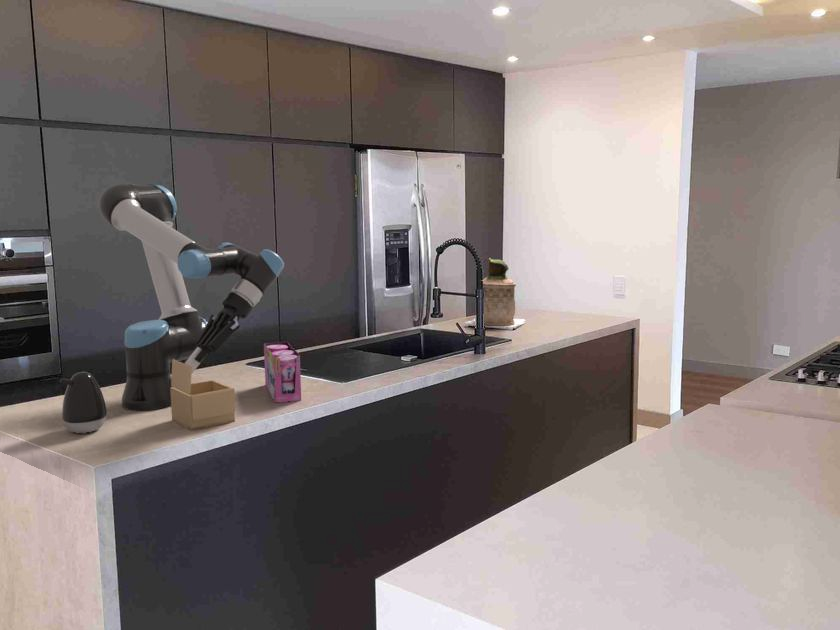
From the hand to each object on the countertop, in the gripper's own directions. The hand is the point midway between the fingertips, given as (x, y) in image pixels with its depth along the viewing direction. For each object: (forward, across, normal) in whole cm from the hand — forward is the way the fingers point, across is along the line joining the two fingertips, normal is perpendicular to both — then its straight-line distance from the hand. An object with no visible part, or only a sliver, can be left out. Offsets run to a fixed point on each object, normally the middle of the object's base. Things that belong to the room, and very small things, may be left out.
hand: (186, 370), depth 184 cm
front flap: (+2, 0, 0) cm, 2 cm away
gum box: (-14, +11, -35) cm, 40 cm away
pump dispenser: (+26, +12, +6) cm, 29 cm away
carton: (+8, 0, -13) cm, 15 cm away
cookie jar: (-112, +51, -138) cm, 185 cm away
